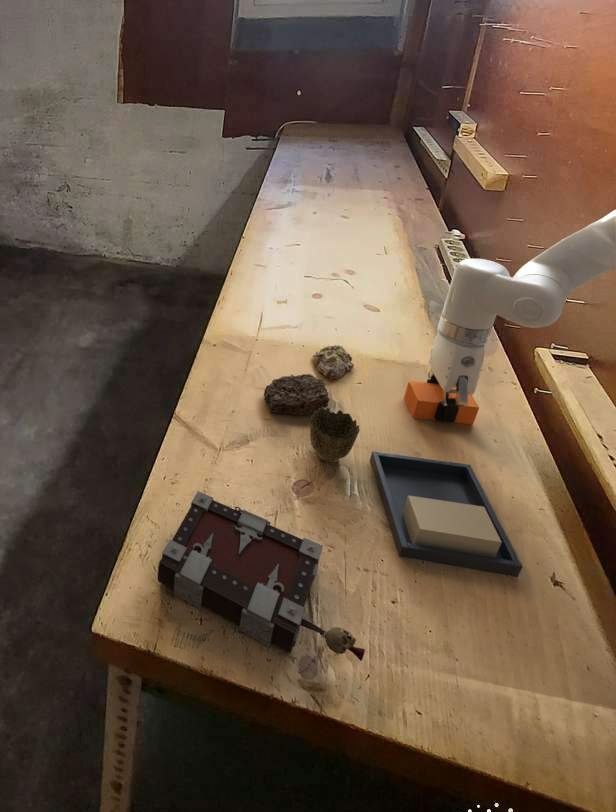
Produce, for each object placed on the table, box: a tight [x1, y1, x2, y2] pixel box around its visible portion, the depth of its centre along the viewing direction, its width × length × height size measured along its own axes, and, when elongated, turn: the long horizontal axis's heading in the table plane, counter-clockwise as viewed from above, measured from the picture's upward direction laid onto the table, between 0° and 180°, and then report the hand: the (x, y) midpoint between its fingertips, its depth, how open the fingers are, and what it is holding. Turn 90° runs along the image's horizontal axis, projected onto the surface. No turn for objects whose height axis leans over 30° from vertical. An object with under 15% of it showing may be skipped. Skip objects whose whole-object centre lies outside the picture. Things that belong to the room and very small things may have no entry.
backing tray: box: [369, 451, 523, 578], centre depth 85 cm, size 15×19×3 cm
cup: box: [309, 407, 361, 464], centre depth 95 cm, size 8×7×8 cm
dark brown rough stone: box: [263, 373, 331, 416], centre depth 108 cm, size 12×10×5 cm
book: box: [157, 490, 366, 662], centre depth 74 cm, size 15×25×5 cm, turn 57°
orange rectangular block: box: [403, 380, 480, 426], centre depth 105 cm, size 10×6×4 cm, turn 76°
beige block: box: [402, 495, 502, 558], centre depth 80 cm, size 10×6×4 cm, turn 76°
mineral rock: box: [312, 344, 355, 380], centre depth 119 cm, size 11×4×8 cm
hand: (438, 408), depth 106 cm, fingers closed on orange rectangular block, 6 cm apart
